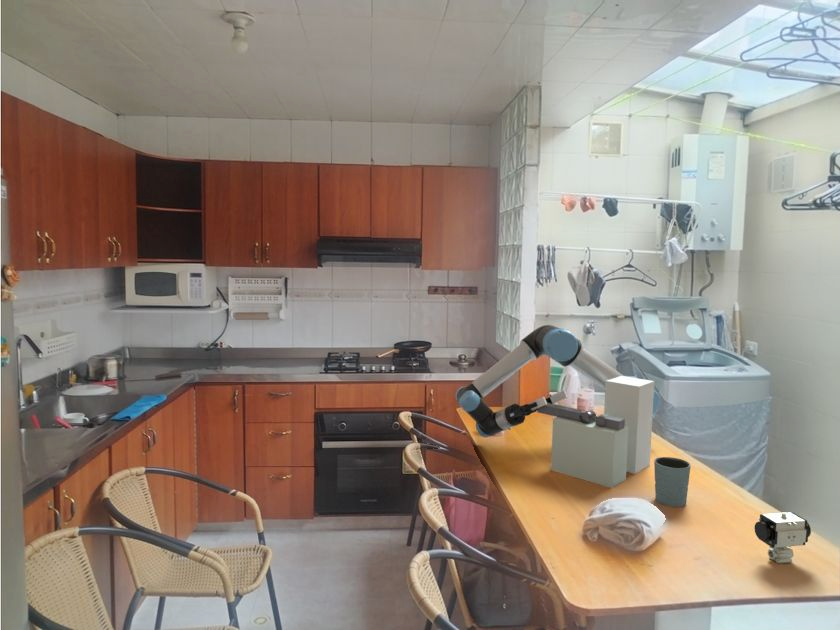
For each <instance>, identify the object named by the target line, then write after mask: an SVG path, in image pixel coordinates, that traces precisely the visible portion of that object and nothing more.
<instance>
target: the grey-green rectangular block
mask: <svg viewBox="0 0 840 630" xmlns="http://www.w3.org/2000/svg"><path fill="white" fill-rule="evenodd" d="M628 427H629V426H625V419H623V418H618V417H613V416H611V415H609V414H604V413H602V414H601V413H600V414H598V415H596V419H595V422H593V423H591V424H586V423H582V422H578V421H573V420H569V419H565V418H560V417H556V416H555V417H553V418H552V432H551V433H552V434H551V436H552V437H551V459H550V461H551V462H550V465H551V466H550V470H551V471H553V472H557V473H561V474H563V475H566V476H570V477H573V478H577V479H579V480H584V481H587V482H591V483H593V484H597V485H600V486H603V487H607V488H611V489H613V488H614V487H616V486H618V485H620V484H621V483H623V482H624V481H626V480H627V472H626V468H627V447H628Z"/></svg>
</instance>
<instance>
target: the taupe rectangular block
mask: <svg viewBox="0 0 840 630" xmlns="http://www.w3.org/2000/svg"><path fill="white" fill-rule="evenodd" d="M625 376H626V375H623V376H619V377H616V378H613V379H610V380H607V381H606V383H605V389H604V408H603V409H604V410H603V414H609V415H611V416H613V417H618V418H623V419H625V426H629V427H628V447H627V468H626V473H629V474H634V475H636V474H637V473H639V472H642V470H644V469H646V468H647V467H649V466H651V450H652V449H651V448H652V430H653V397H654V390H655V381H654V380H650V379H644V378H643V379H642V378H638V377H637V378H638V379H637V378H631V377H625Z"/></svg>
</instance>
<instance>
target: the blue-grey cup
mask: <svg viewBox="0 0 840 630" xmlns="http://www.w3.org/2000/svg"><path fill="white" fill-rule="evenodd" d="M653 462H654V463H653V464H654V482H655V483H654V488H655V490H654V491H655V501H656V502H657V503H659V504H661V505H664V506H666V507H670V508H682V507H685V506H686V504H687V501H688V500H687V497H688V490H689V482H690V473H691V467H692V466H691V463H690V462H689V461H687V460H684V459H682V458H676V457H671V456H669V457H668V456H661V457H660V456H659V457H657V458H655V459H654V460H653Z"/></svg>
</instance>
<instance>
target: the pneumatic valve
mask: <svg viewBox="0 0 840 630" xmlns="http://www.w3.org/2000/svg"><path fill="white" fill-rule="evenodd" d="M754 533H755V535H756V537H757V538H758V540H760V541H761V542H763V543H764V544H766V545H767V546H769V549H768V550H767V556H768V557H769V558H770V560H773V561H775V562H776V563H777V564H790V563H792V561H793V559H792V558H793V557H794V550H793V549H792V547H798V546H799V547H800V546H806V543H808V541H809V537H810V536H811V533H812V529H811V526H810V524H809V522H808V520H807V519H805V518H803V517H801V516H800V515H799V514H797V513H795V512H777V513H762V514H759V519H758V521H757V522H755V524H754Z"/></svg>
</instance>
